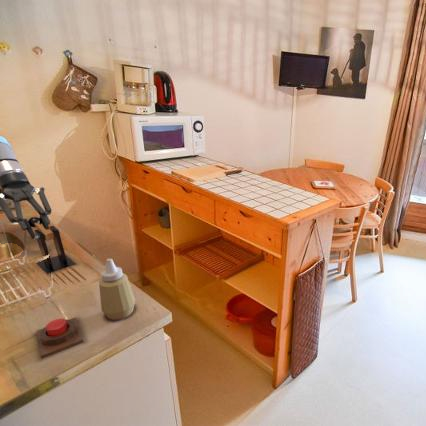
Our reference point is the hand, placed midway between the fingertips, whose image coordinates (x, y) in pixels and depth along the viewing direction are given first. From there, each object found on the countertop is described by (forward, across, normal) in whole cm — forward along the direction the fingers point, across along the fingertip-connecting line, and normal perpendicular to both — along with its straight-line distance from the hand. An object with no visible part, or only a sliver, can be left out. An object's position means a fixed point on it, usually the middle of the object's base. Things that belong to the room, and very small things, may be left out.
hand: (41, 234), depth 107 cm
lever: (0, 0, +2) cm, 2 cm away
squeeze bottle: (+40, -2, +26) cm, 47 cm away
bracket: (+12, 0, -2) cm, 12 cm away
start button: (+36, +12, +27) cm, 47 cm away
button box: (+38, +12, +25) cm, 47 cm away
